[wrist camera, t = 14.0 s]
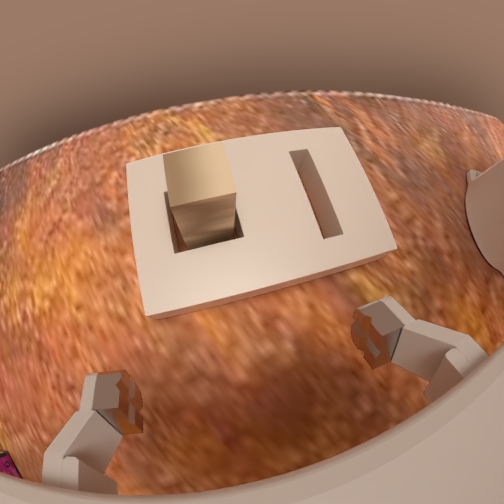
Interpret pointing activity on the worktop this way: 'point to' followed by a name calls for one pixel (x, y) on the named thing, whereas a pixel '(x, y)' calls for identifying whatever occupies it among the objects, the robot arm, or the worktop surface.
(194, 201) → the square peg
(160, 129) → the worktop surface
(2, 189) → the worktop surface
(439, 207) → the worktop surface
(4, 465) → the candy bar box
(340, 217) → the socket board
